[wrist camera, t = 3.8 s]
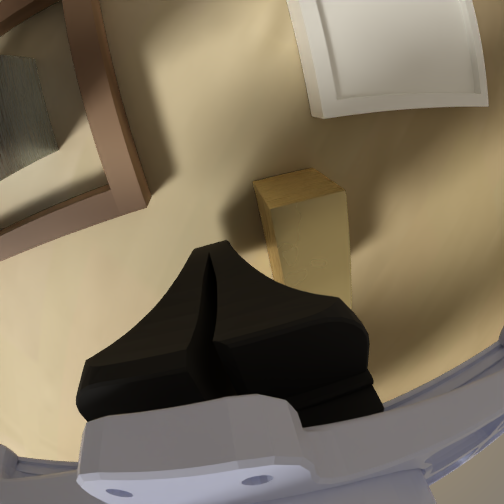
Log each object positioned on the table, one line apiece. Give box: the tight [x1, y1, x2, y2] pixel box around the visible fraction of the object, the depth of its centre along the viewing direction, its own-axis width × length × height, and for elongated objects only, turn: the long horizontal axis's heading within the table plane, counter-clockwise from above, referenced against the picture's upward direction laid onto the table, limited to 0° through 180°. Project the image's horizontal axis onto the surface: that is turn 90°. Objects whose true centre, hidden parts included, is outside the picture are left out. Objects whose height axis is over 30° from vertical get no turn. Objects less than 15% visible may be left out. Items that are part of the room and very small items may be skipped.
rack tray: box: [286, 0, 489, 119], centre depth 8 cm, size 9×9×1 cm
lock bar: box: [253, 168, 352, 310], centre depth 11 cm, size 5×2×3 cm, turn 12°
